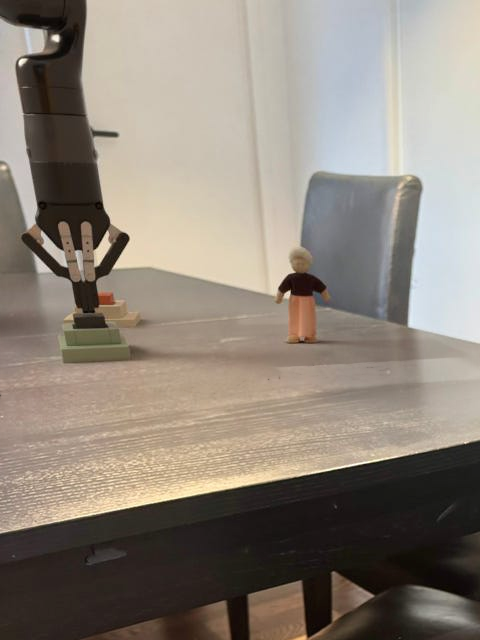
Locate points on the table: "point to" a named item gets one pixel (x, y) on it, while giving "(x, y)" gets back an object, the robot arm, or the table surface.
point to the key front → (89, 320)
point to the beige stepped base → (112, 314)
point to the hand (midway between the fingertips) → (88, 312)
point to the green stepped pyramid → (93, 344)
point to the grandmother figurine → (301, 296)
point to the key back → (106, 299)
